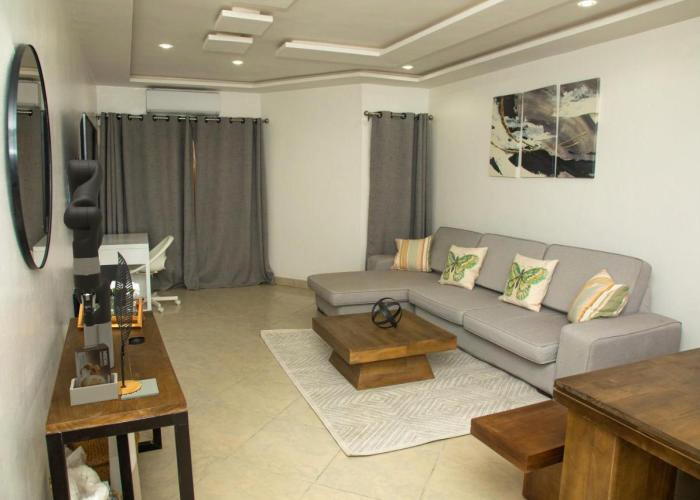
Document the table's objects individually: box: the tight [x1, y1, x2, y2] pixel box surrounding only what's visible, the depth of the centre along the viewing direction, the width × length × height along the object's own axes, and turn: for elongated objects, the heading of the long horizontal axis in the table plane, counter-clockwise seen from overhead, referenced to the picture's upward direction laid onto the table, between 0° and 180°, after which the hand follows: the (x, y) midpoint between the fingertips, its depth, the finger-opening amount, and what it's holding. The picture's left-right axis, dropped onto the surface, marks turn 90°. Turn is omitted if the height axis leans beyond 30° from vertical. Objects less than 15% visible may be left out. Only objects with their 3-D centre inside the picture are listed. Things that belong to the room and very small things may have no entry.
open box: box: [69, 372, 119, 407], centre depth 169 cm, size 10×13×5 cm
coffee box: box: [74, 343, 112, 388], centre depth 168 cm, size 9×6×16 cm
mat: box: [120, 377, 160, 401], centre depth 174 cm, size 14×11×1 cm
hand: (90, 322), depth 166 cm, fingers open, 8 cm apart
